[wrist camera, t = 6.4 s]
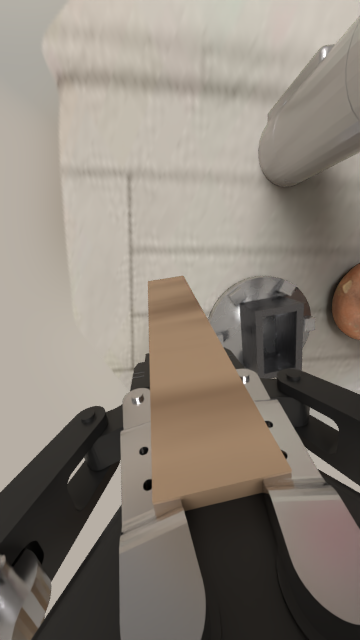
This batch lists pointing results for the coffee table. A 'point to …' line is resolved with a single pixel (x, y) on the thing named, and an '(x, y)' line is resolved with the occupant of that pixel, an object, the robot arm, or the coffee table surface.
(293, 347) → the grey disc
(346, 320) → the ceramic jug
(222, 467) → the brown wooden block
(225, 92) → the coffee table surface
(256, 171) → the coffee table surface
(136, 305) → the coffee table surface
